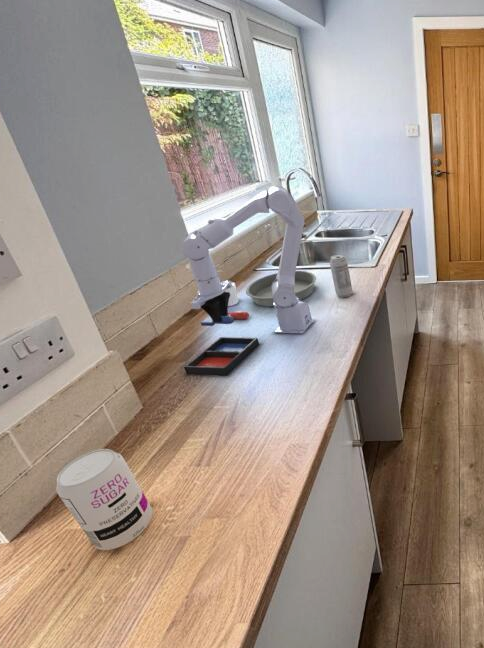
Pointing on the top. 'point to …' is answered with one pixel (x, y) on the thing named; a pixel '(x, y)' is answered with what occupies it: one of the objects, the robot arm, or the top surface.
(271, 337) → the top surface
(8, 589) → the top surface
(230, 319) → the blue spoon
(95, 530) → the supplement can
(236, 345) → the black divided tray
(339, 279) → the grey cylinder
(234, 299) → the white cup
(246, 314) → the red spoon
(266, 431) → the top surface
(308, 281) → the cake pan
